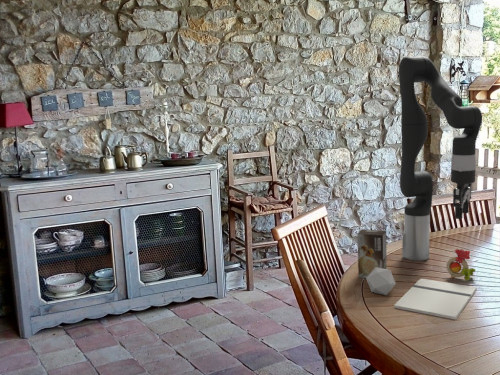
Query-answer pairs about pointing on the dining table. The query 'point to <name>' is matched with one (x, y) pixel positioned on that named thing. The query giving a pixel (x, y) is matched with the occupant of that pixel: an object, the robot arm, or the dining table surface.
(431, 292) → the mat
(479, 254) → the dining table surface
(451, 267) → the bird rattle
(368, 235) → the coffee box
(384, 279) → the die
